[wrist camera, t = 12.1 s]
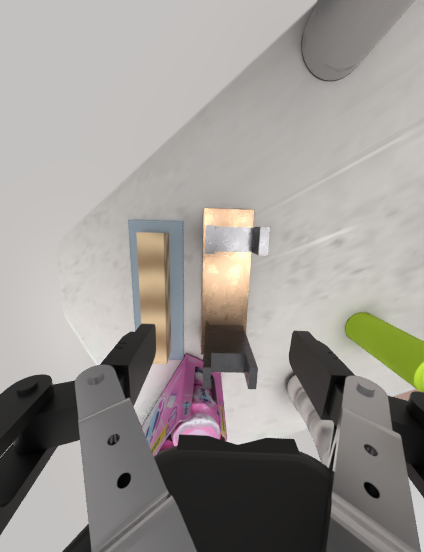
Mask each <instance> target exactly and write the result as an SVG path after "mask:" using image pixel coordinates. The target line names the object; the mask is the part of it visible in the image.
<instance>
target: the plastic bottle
mask: <svg viewBox="0 0 424 552" xmlns="http://www.w3.org/2000/svg"><path fill="white" fill-rule="evenodd" d="M287 391H288V394H289V398H290V400H291V402H292V403H293V405H294V406H295V408H296V409H297V410H298V411H299V413H300V415H301V417H302V418H303V420H304V422H305V423H306V425H307V427H308V429H309V431H310V433H311V436H312V438H313V441H314V443H315V445H316V448H317V451H318V454H319V457H320V460H321V463H323V464H324V465H326V466H327V460H328V454H329V448H330V443H331V437H332V431H333V427H334V423H333V421H332V420H321V419H320V417H319V415H318V414H317V412H316V410H315V408H314V406H313V405H312V403H311V401H310V399H309V398H308V396H307V394H306V392H305V390H304V389H303V387H302V385H301V383H300V381H299V380H298V378H297V376H296V374H295V375H294V376H292V377H291V379H290V380H289V382H288V386H287Z"/></svg>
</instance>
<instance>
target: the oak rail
mask: <svg viewBox="0 0 424 552" xmlns="http://www.w3.org/2000/svg"><path fill="white" fill-rule="evenodd" d="M136 235H137V253H138V272H139V291H140V310H141V324H142V323H143V324H155V326H156V354H155V358H154V361H153V363H152V364H167V362H168V358H169V355H170V352H171V312H170V258H169V233H150V232H136Z"/></svg>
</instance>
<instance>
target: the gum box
mask: <svg viewBox="0 0 424 552" xmlns="http://www.w3.org/2000/svg"><path fill="white" fill-rule="evenodd" d="M142 429H143V432H144V434H145V437H146V439H147V442H148V444H149V447H150V449H151V452H152V454H153V457H154V456H155V455H157V454H158V453H160V452H162V451H164V450H166V449H168V448H171V447H174V446H177V445H178V438H179V434H181V435H205V436H210V437H214V438H217V439H220V440H223V441H227V433H226V423H225V412H224V401H223V391H222V381H221V373H220V372H211V385H210V388H203V361H201V360H199V359H197V358H194V357H192V356H190V355H188V354H186V356H185V357H184V359H183V361H182V362H181V364H180V366H179V367H178V369H177V370H176V372H175V373H174V375H173V377H172V379H171V380H170V382H169V383H168V385H167V386H166V388H165V390H164V391H163V393H162V395H161V396H160V398H159V400H158V401H157V403H156V404H155V406H154V408H153V410H152V411H151V413H150V415H149V416H148V418H147V419H146V421H145V422H144V424H143V426H142Z"/></svg>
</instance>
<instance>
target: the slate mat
mask: <svg viewBox="0 0 424 552" xmlns="http://www.w3.org/2000/svg"><path fill="white" fill-rule="evenodd" d="M128 224H129V240H130V256H131V272H132V288H133V304H134V320H135V331H136V330H137V328H138V327H139V326H140V324H141V310H140V291H139V272H138V253H137V235H136V232H150V233H169V258H170V312H171V352H170V355H169V358H168V360H183V359H184V305H183V221H160V220H128Z"/></svg>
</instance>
